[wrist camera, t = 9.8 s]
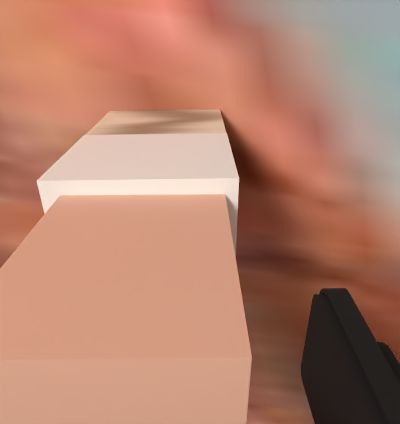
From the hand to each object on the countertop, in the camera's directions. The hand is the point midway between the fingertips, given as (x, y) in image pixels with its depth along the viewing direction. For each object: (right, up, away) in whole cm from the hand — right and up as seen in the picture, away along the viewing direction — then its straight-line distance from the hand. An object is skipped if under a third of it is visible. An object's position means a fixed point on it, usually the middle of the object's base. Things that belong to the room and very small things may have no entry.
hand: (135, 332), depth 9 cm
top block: (0, +2, +3) cm, 3 cm away
